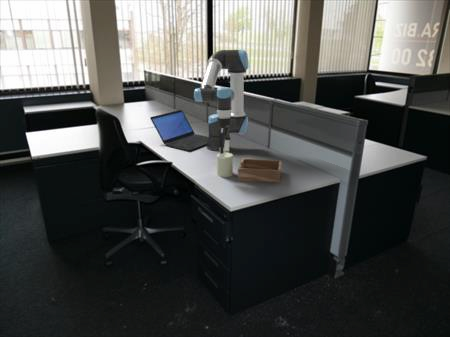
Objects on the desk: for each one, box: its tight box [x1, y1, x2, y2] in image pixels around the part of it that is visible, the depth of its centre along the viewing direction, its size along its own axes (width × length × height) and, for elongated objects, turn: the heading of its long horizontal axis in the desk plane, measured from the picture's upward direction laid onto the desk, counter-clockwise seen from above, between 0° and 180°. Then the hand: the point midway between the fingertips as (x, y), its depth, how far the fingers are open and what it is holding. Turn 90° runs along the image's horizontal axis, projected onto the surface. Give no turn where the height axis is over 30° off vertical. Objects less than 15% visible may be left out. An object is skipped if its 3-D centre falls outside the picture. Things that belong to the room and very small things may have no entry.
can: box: [216, 151, 234, 178], centre depth 196 cm, size 9×9×12 cm
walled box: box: [237, 157, 282, 184], centre depth 193 cm, size 16×22×7 cm
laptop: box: [149, 109, 209, 152], centre depth 254 cm, size 33×38×19 cm
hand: (224, 154), depth 194 cm, fingers open, 13 cm apart
